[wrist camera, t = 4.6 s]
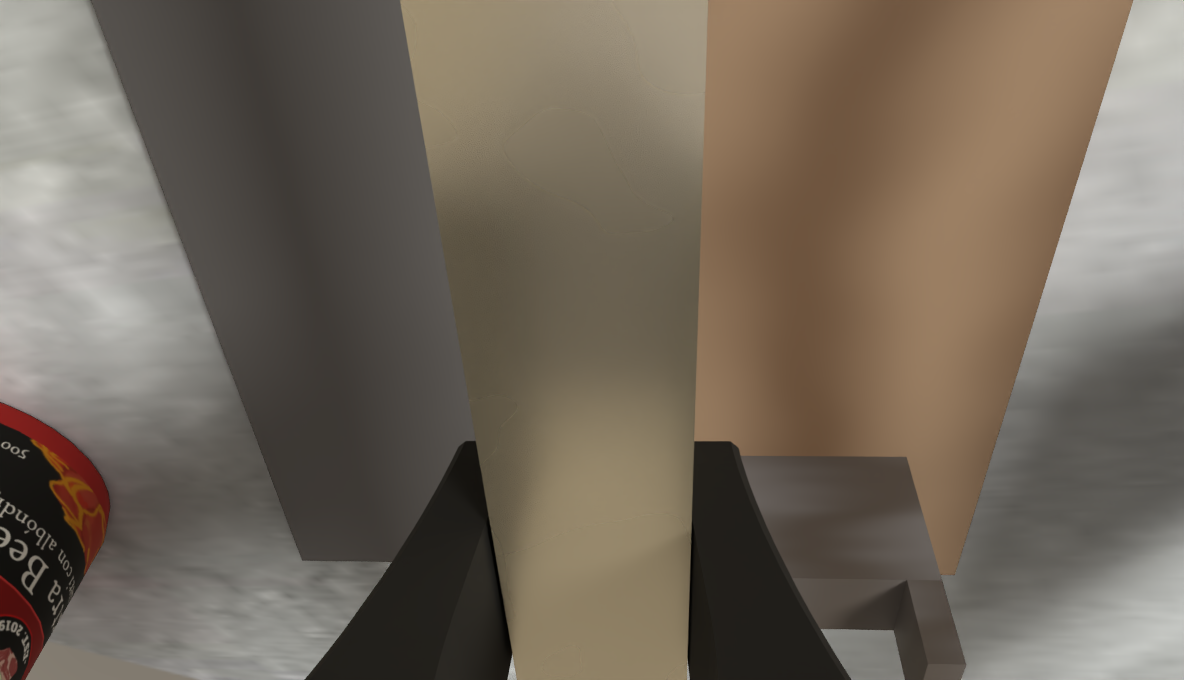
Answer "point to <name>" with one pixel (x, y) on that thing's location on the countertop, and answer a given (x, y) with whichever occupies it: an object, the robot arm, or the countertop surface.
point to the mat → (309, 245)
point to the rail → (575, 307)
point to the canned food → (42, 533)
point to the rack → (882, 272)
